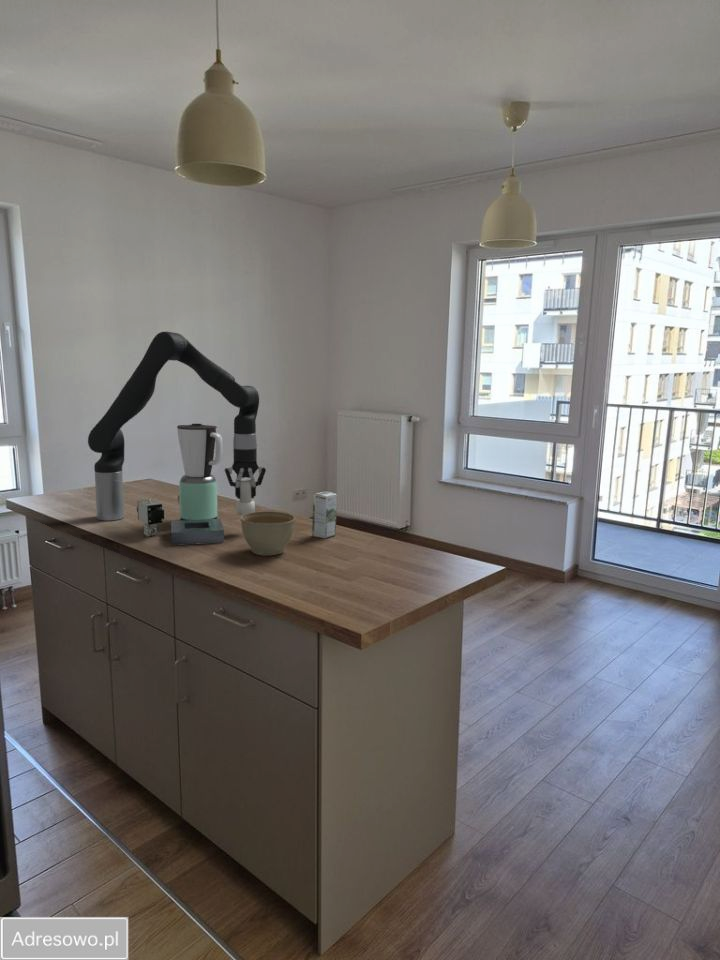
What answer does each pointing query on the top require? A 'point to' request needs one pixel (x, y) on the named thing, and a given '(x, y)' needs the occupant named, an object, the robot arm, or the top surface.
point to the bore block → (197, 531)
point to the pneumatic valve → (150, 515)
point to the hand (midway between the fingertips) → (245, 497)
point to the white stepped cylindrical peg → (245, 498)
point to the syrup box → (324, 514)
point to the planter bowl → (267, 531)
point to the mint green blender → (198, 471)
